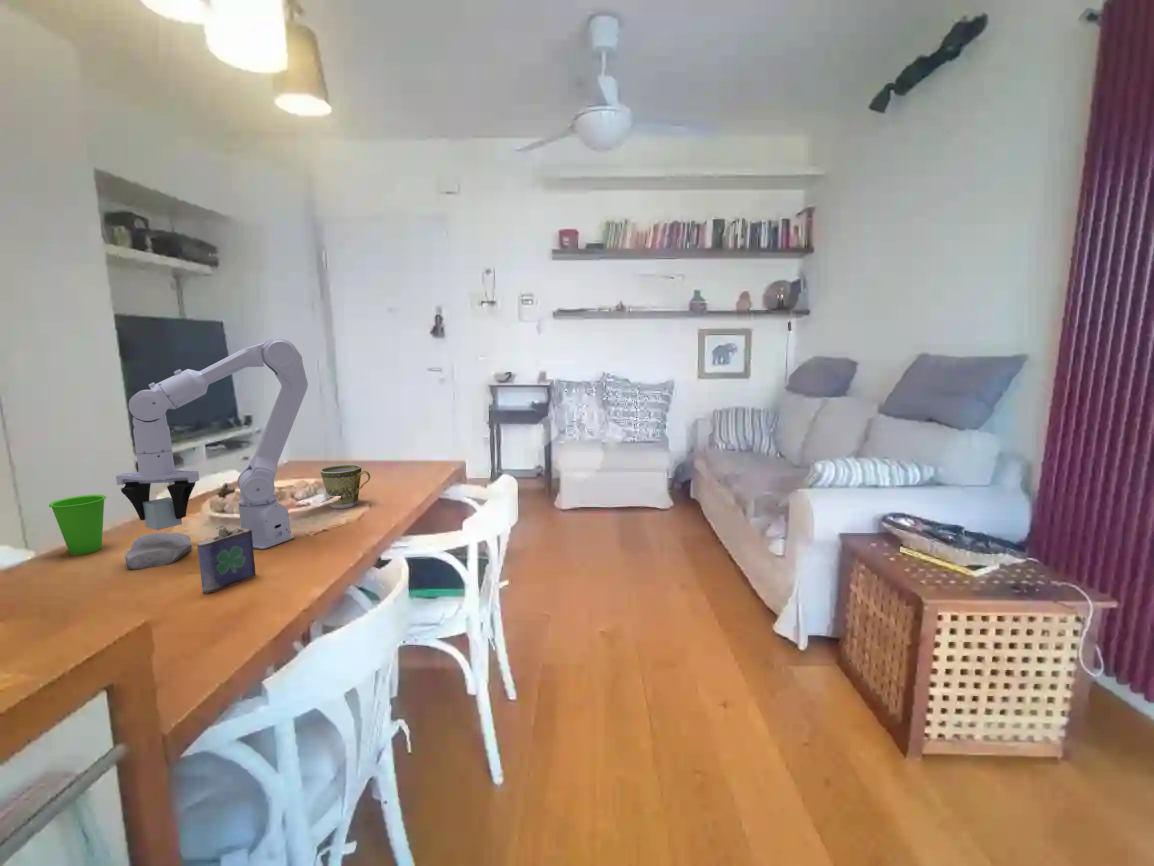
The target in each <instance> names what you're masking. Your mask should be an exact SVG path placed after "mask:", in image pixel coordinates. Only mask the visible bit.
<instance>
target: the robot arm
mask: <svg viewBox="0 0 1154 866" xmlns="http://www.w3.org/2000/svg"><path fill="white" fill-rule="evenodd" d="M303 362H304V361H303V356H302V354H301V353H300V352H299V350H298V349H297V347H296V346H295V344H293V343H292V342H291V341H289V340H288V339H284V338H274V339H273V338H272V339H269V340H266V341H265V342H263V343H258V344H255V345H254V344H253V345H251V346H248V347H244V348H242V349H240V350H239V351H236V352H235V353H233V354H231V355H229V356H227V357H225V358H223V359H221V360H219V361H217V362H215V363H213V364H211V365H209V366H206V367H205V368H204V369H201V370H195V369H190V368H187V369H184V370H183V371H182V369H177V370H175V371H174V372H173V374H174V375H172V376H170V377H168V378H166V379H164V380H162V381H159V382H157V383H155V382H151V383H149V384H148V387H149V389H142V390H139V391H138V392H136V393H135V394H134V395H132V396H131V398H130V399H129V402H128V410H129V411H130V413H131V415H132V416H133V417H132V425H133V429H132V430H133V431H132V434H133V438H134V446H135V453H136V462H137V467H138V471H137V472H126V473H125V472H122V473H119V474H116V475H115V481H116V485H117V486H123V485H124V487H121V488H120V491H121V493H122V494H123V495H124V496H125V497H126V498H127V499H128V500H129V503H131V504H132V506H133V508H134V509H135V511H136V514H137V516H138V518H139V520H140V521H145V515H144V508H143V502H147V501H150V492H151V484H162V483H165V484H166V483H169V484H170V485H167V486H166V488H167V490H168V493H169V494H170V498H172V501H173V505H174V512H175V517H176V519H182V518H185V517H186V516H187V508H188V504H189V500H190V497H191V495H192V492H193V490H194V489H195V486H196V482H199V481H200V474H199V471H198V470H182V469H181V470H180V469H179V470H178V469H177V470H176V468H175V461H174V454H173V447H172V438H171V432H170V426H169V424H168V420H167V414H166V413H167V411H168V410H176V409H178V408H180V407H182V406H185V405H187V404H188V403H190V402H193V401H194V400H197V399H198V398H200V397H203V396H204V395H206V394H207V391H208V388H209V385H210V384H211V385H212V384H214V383H216V382H217V381H220V380H222V379H224V378H226V377H228V376H230V375H231V376H232V375H233V374H235V373H237V372H239V371H241V370H243V369H246V368H260V367H261V368H263V367H265V365H266V367H267V368H268V369H270V370H271V371H272V372H273V373H274V375H275V376H276V378H277V380H278V383H280V385H281V387H280V390H279V393H278V395H277V398H276V400H275V403H274V405H273V407H272V410H271V411H270V412H271V413H270V416H269V418H268V420H267V422H266V425H265V427H264V430H263V433H262V435H261V436H260V440H259V443H258V445H257V447H256V450H255V453H254V455H253V456H252V457H251V459H250V460H249V464H248V466H247V467H246V468H245V469H244V470H243V471H242V472H241V473H240V474H239V476H238V477H237V487H238V489H239V492H240V495H241V498H240V499H239V500H238V502H237V503H238V512H239V521H240V523H239V524H240V529H244V528H245V529H250V530H251V531H252V539H253V540H252V541H253V549H259V550H266V549H268V548H270V547H274V546H276V545H279V544H281V543H284V542H286V541H289V540H293V539H295V535H293V534H291V526H290V525H291V524H290V514H289V510H288V508H287V507H286V505H284V504H281V503H279V501H278V500H277V496H276V494H274V493H275V489H276V488H275V477H276V475H277V471H278V464H279V461H280V458H281V455H282V453H283V451H284V447H285V445H286V443H287V441H288V438H289V435H290V433H291V431H292V428H293V426H294V423H295V421H296V418H297V415H298V413H299V411H300V407H301V405H302V403H303V400H304V398H305V395H306V392H307V390H308V387H309V386H308V385H309V384H308V383H309V382H308V378H307V374H306V371H305V367H304V363H303ZM171 483H173V484H171Z"/></svg>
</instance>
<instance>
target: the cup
mask: <svg viewBox="0 0 1154 866" xmlns="http://www.w3.org/2000/svg"><path fill="white" fill-rule="evenodd" d="M105 499H107V496H106V495H104V494H86V495H78V496H70V497H66V498H62V499H58V500H54V501H52V502H50V503H49V504H48V507H49V508H52V511H53V514H54V518H55V519H56V522H57V524H58V527H59V530H60V531H61V532H60V533H61V535H62V538H63V539H64V540H63V541H64V542H65V546H66V547H67V551H68V552H69V553H70V555H72V556H81V555H88V554H93V553H96V552H98V551H99V550H101V549H102V546H103V531H104V529H103V527H104V511H105Z"/></svg>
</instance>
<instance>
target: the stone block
mask: <svg viewBox="0 0 1154 866" xmlns="http://www.w3.org/2000/svg"><path fill="white" fill-rule="evenodd" d="M191 549H192V541H191V537H190V536H189V535H188V534H186V533H182V532H167V531H166V532H165V531H164V532H153V533H152V532H151V533H150V534H143V535H140V536H138V537H136V538H135V540H134V541H133V543H132V545H131V548H130V550H127V551H126V552H125V554H124V557H125V558H124V559H125V567H126V568H127V569H130V570H131V571H136V570H140V569H145V568H146V569H147V568H151V567H158V566H159V567H160V566H166V565H167V566H168V565H171V564H173V563H175V562H176V561H178V560H179V559H180V558H181V557H183V556H185V554H187V553H188V552H190V550H191Z"/></svg>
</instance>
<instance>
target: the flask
mask: <svg viewBox="0 0 1154 866" xmlns="http://www.w3.org/2000/svg"><path fill="white" fill-rule="evenodd" d="M215 529H216V530H218V532H217V536H214V537H211V538H207V539H205V540H201V541H199V542H198V543H197V546H196V547H197V554H198V561H199V570H200V579H201V591H202V592H203V594H208V595H209V594H210V593H217V592H219V591H220V590H222V589H223V590H224V589H225V588H226V589H227V588H230V587H232V586H234V585H237V584H238V583H242V582H244V581H247V580H249V579H253V578H255V577H256V576H257V575H256V564H255V554H254V548H253V541H252V540H253V539H252V531H251V530H250V529H245V528H244V529H241V528H239V527H238V528H235V529H232V530H229V529H227V525H225V524H221V525H219V526H218V527H216V528H215Z"/></svg>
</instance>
